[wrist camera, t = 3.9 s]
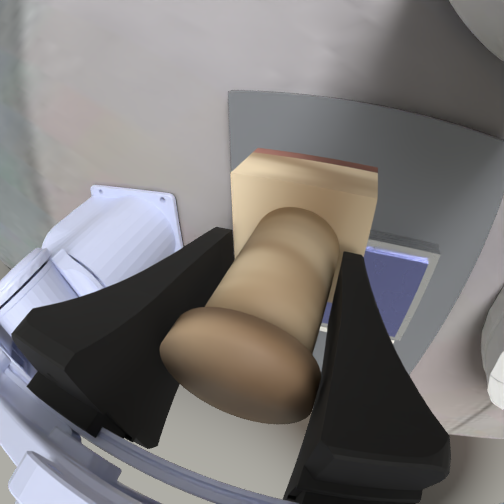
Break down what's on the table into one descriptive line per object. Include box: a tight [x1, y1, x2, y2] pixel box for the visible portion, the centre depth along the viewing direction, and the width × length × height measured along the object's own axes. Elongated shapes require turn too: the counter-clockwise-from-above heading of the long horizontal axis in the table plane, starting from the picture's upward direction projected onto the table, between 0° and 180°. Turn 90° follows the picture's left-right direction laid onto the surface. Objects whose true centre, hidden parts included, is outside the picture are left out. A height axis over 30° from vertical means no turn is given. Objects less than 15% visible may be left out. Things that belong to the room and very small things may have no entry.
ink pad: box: [321, 230, 441, 341], centre depth 22 cm, size 9×9×2 cm
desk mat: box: [228, 90, 504, 375], centre depth 24 cm, size 18×30×1 cm, turn 0°
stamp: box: [160, 148, 378, 424], centre depth 10 cm, size 5×5×9 cm
